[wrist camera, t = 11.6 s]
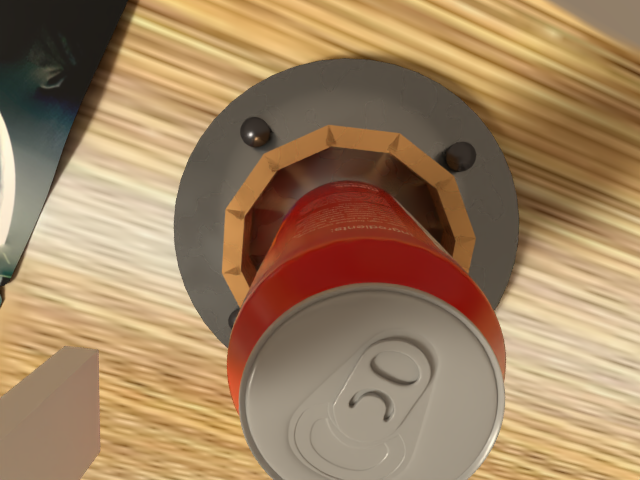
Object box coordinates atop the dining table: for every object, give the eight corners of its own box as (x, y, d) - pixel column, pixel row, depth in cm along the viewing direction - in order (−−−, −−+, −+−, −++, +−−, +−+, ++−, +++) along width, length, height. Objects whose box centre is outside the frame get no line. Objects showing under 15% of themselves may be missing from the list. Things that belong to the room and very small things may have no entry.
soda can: (438, 215, 24) (605, 349, 10) (372, 327, 26) (429, 580, 12) (315, 153, 23) (295, 195, 9) (256, 272, 25) (160, 470, 11)
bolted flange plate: (549, 84, 23) (587, 77, 20) (473, 399, 28) (492, 436, 25) (184, 40, 23) (159, 25, 20) (175, 366, 28) (154, 399, 25)
